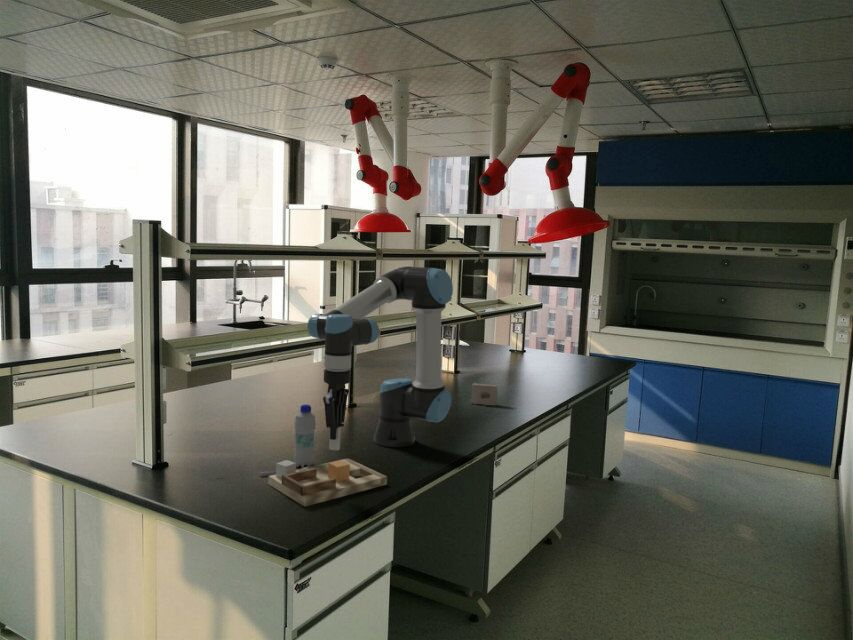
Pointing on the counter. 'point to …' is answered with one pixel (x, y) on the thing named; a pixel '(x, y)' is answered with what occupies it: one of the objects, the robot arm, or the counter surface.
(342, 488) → the board
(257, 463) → the counter surface
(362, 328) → the robot arm
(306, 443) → the bottle
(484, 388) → the pale printed box
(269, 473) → the crook tool
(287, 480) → the cubby
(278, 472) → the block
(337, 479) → the cube
